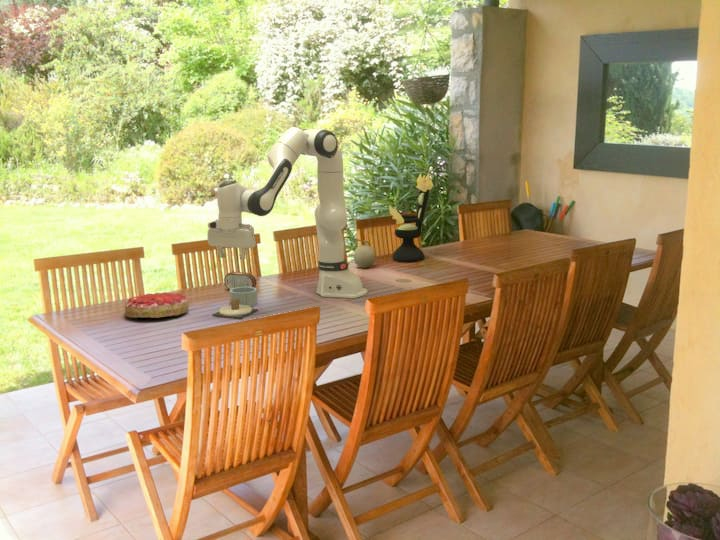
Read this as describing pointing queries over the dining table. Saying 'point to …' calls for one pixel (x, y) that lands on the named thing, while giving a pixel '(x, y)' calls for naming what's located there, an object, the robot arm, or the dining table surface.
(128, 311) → the cake
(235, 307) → the lid
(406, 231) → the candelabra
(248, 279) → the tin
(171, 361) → the dining table surface
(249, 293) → the bowl
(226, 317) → the mat
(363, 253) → the fruit
